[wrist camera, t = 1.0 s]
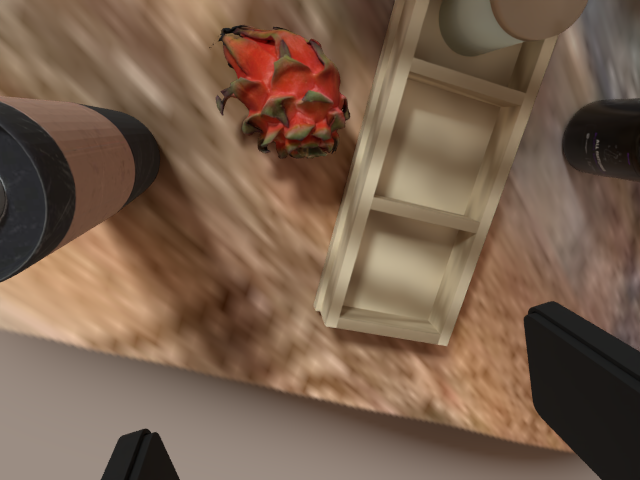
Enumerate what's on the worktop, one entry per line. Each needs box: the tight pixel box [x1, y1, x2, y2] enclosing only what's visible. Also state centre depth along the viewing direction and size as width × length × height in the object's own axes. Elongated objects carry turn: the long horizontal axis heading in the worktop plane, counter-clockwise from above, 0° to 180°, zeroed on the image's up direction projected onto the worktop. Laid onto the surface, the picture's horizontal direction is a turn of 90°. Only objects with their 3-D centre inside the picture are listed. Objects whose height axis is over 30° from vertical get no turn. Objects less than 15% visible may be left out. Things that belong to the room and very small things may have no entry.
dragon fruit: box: [211, 25, 350, 159], centre depth 31 cm, size 8×8×12 cm
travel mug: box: [0, 96, 160, 282], centre depth 24 cm, size 8×8×20 cm
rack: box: [314, 0, 559, 346], centre depth 36 cm, size 34×13×4 cm, turn 166°
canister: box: [439, 0, 588, 57], centre depth 30 cm, size 6×6×9 cm
